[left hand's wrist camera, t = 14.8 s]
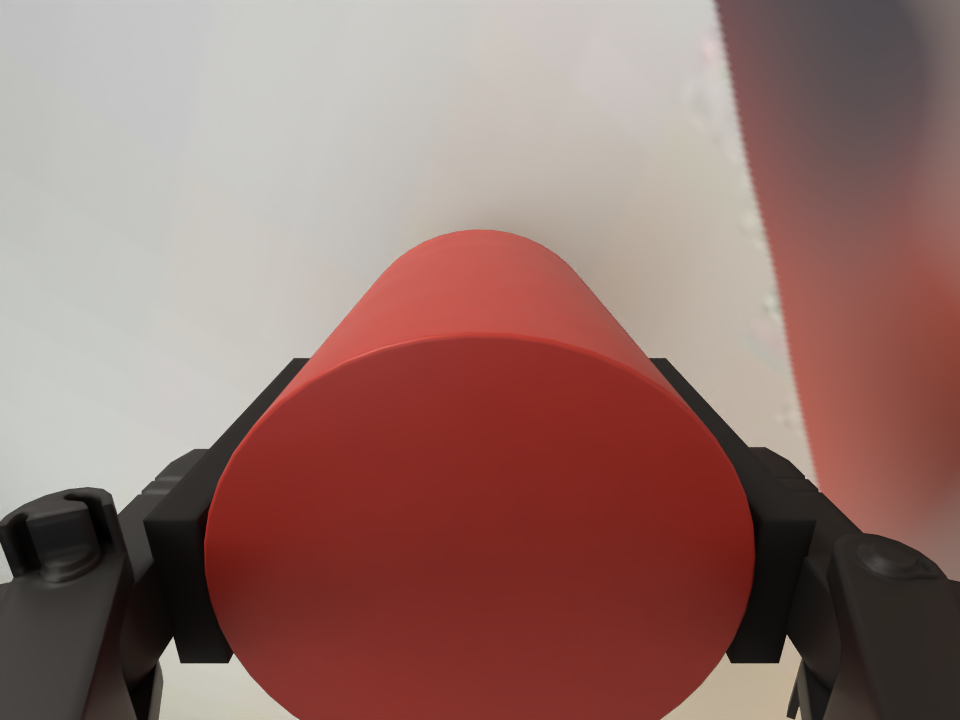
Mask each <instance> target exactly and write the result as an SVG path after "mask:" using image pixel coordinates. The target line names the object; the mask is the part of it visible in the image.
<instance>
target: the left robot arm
mask: <svg viewBox="0 0 960 720" xmlns="http://www.w3.org/2000/svg"><path fill="white" fill-rule="evenodd" d="M310 359H311V358H294V359H293V360H292V361H291V362H290V363H289V364H288V365H287V366H286V367H285V368H284V369H283V371H282V372H281V373H280V374H279V375H278V376H277V377H276V378H275V379H274V380H273V381H272V382H271V383H270V384H269V386H268V387H267V388H266V389H265V390H264V391H263V392H262V393H261V394H260V395H259V396H258V397H257V398H256V399H255V401H254V402H253V403H252V404H251V405H250V406H249V407H248V408H247V409H246V410H245V411H244V412H243V413H242V415H241V416H240V417H239V418H238V419H237V420H236V421H235V422H234V423H233V424H232V425H231V426H230V427H229V428H228V430H227V431H226V432H225V433H224V434H223V435H222V436H221V437H220V438H219V439H218V440H217V441H216V442H215V443H214V445H213V446H212V447H211V448H210V449H194V450H192V451H190V452H189V453H187V454H185V455H183V456H182V457H180V458H178V459H176V460H174V461H173V462H171V463H170V464H169V465H168V466H167V467H166V468H165V469H164V470H163V471H162V472H161V473H160V474H159V475H158V476H157V477H156V478H155V481H152V482H151V483H150V484H149V485H148V486H147V487H146V488H145V489H143V490H142V494H141V495H137V496H136V497H135V498H134V499H133V500H132V501H131V502H130V503H129V504H128V505H127V506H126V507H125V508H124V509H123V510H122V511H121V512H120V513H119V514H118V515H117V512H116V508H115V505H114V501H113V498H112V495H111V494H110V493H108V492H107V491H105V490H104V489H99V488H90V487H85V488H76V489H67V490H64V491H60V492H56V493H52V494H49V495H45V496H43V497H41V498H38V499H36V500H33V501H31V502H29V503H26V504H24V505H22V506H21V507H19V508H18V509H16V510H14V511H13V512H11V513H10V514H8V515H6V516H5V517H4V518H3V519H2V520H1V521H0V543H1V545H2V548H3V551H4V553H5V556H6V558H7V561H8V564H9V566H10V569H11V571H12V574H13V577H14V578H13V580H12V581H11V582H9V583H4V584H0V720H158V719H159V712H160V704H161V696H162V689H163V676H162V670H161V666H160V663H159V658H160V656H161V655H162V653H163V651H164V650H165V648H166V647H167V645H168V644H169V642H170V641H171V639H172V637H173V636H174V640H175V644H176V648H177V651H178V655H179V659H180V663H229V661H230V659H231V657H232V655H233V651H232V649H231V647H230V645H229V643H228V641H227V640H226V638H225V636H224V634H223V632H222V630H221V628H220V626H219V623H218V621H217V618H216V615H215V612H214V609H213V607H212V604H211V601H210V596H209V591H208V586H207V581H206V575H205V555H204V540H205V533H206V526H207V520H208V513H209V509H210V506H211V503H212V499H213V496H214V493H215V490H216V487H217V484H218V481H219V479H220V477H221V475H222V473H223V472H224V470H225V468H226V466H227V464H228V462H229V460H230V458H231V456H232V454H233V452H234V451H235V450H236V448H237V447H238V446H239V444H240V443H241V442H242V440H243V439H244V438H245V436H246V435H247V434H248V432H249V431H250V430H251V428H252V427H253V426H254V424H255V423H256V422H257V421H258V420H259V419H260V417H261V416H262V415H263V414H264V413H265V411H266V410H267V409H268V408H269V407H270V406H271V404H272V403H273V402H274V401H275V400H276V399H277V397H278V396H279V395H280V394H281V393H282V391H283V390H284V389H285V388H286V387H287V386H288V384H289V383H290V382H291V381H292V380H293V379H294V377H295V376H296V375H297V374H298V373H299V371H300V370H301V369H302V368H303V367H304V366H305V364H306V363H307V362H308V361H309V360H310ZM649 359H650V361H651V362H652V363H653V364H654V365H655V367H656V368H657V369H658V370H659V371H660V372H661V374H662V375H663V376H664V377H665V378H666V379H667V381H668V382H669V383H670V384H671V385H672V387H673V388H674V389H675V390H676V391H677V392H678V394H679V395H680V396H681V397H682V398H683V400H684V401H685V402H686V403H687V404H688V405H689V407H690V408H691V409H692V410H693V411H694V413H695V414H696V415H697V416H698V417H699V418H700V420H701V421H702V422H703V423H704V424H705V426H706V427H707V428H708V429H709V430H710V431H711V433H712V434H713V435H714V436H715V437H716V439H717V441H718V442H719V444H720V445H721V447H722V448H723V450H724V451H725V453H726V455H727V456H728V458H729V459H730V461H731V462H732V464H733V466H734V468H735V470H736V473H737V475H738V477H739V479H740V482H741V484H742V486H743V489H744V491H745V493H746V497H747V501H748V505H749V509H750V513H751V517H752V521H753V528H754V542H755V566H754V577H753V586H752V589H751V593H750V597H749V601H748V605H747V608H746V612H745V615H744V617H743V619H742V621H741V624H740V626H739V628H738V631H737V633H736V635H735V638H734V639H733V641H732V643H731V644H730V646H729V648H728V649H727V651H726V654H727V656H728V658H729V660H730V662H731V663H779V661H780V657H781V654H782V650H783V646H784V642H785V639H786V635H788V637H789V638H790V640H791V641H792V643H793V644H794V646H795V648H796V649H797V651H798V652H799V654H800V655H801V657H802V659H801V663H800V666H799V670H798V673H797V677H796V680H795V684H794V687H793V691H792V694H791V698H790V701H789V705H788V711H787V717H789V718H791V719H794V720H795V717H796V714H797V710H798V707H800V710H801V718H802V720H960V582H958V581H953V580H949V579H948V578H947V577H946V575H945V574H944V573H943V572H942V570H941V569H940V568H939V567H938V566H937V564H936V563H934V562H933V561H932V560H930V559H929V558H927V557H926V556H925V555H923V554H922V553H921V552H919V551H917V550H915V549H913V548H911V547H909V546H907V545H905V544H903V543H901V542H899V541H896V540H892V539H889V538H886V537H882V536H879V535H874V534H866V533H863V532H862V531H861V530H860V529H859V528H858V527H857V526H856V525H855V524H853V523H852V522H851V521H850V520H849V519H848V518H847V517H846V516H845V515H844V514H843V513H842V512H841V511H840V510H839V509H838V508H837V507H836V506H835V505H834V504H833V503H832V502H831V501H830V500H829V499H828V498H827V497H826V496H825V495H824V494H823V493H819V492H818V488H817V487H816V486H815V485H814V484H813V483H811V482H810V481H809V480H808V479H805V476H804V475H803V474H802V473H801V472H800V471H799V470H798V469H797V468H796V467H795V466H794V465H793V464H792V463H791V462H790V461H789V460H787V459H785V458H784V457H782V456H780V455H778V454H776V453H775V452H773V451H771V450H769V449H767V448H766V447H748V446H747V445H746V444H745V443H744V442H743V441H742V440H741V439H740V437H739V436H738V435H737V434H736V433H735V432H734V431H733V430H732V429H731V428H730V427H729V426H728V425H727V423H726V422H725V421H724V420H723V419H722V418H721V417H720V416H719V415H718V414H717V413H716V412H715V411H714V410H713V408H712V407H711V406H710V405H709V404H708V403H707V402H706V401H705V400H704V399H703V398H702V397H701V396H700V395H699V393H698V392H697V391H696V390H695V389H694V388H693V387H692V386H691V385H690V384H689V383H688V382H687V381H686V379H685V378H684V377H683V376H682V375H681V374H680V373H679V372H678V371H677V370H676V369H675V368H674V367H673V366H672V364H671V363H670V362H669V361H668V360H667V359H666V358H649Z"/></svg>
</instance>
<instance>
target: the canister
mask: <svg viewBox="0 0 960 720" xmlns="http://www.w3.org/2000/svg"><path fill="white" fill-rule="evenodd" d="M204 555H205V575H206V581H207V586H208V591H209V596H210V601H211V604H212V607H213V609H214V612H215V615H216V618H217V621H218V623H219V626H220V628H221V630H222V632H223V634H224V636H225V638H226V640H227V641H228V643H229V645H230V647H231V649H232V651H233V653H234V654H235V655H236V657H237V658H238V659H239V661H240V662H241V664H242V665H243V666H244V668H245V669H246V670H247V672H248V673H249V674H250V676H251V677H252V678H253V679H254V680H255V681H256V682H257V683H258V684H259V685H260V686H261V687H262V688H263V689H264V690H265V692H266V693H267V694H268V695H269V696H270V697H272V698H273V699H274V700H275V701H276V702H278V703H279V704H280V705H281V706H282V707H284V708H285V709H286V710H287V711H288V712H290V713H291V714H292V715H293V716H295V717H296V718H298V719H300V720H660V719H662V718H663V717H664V716H666V715H667V714H668V713H669V712H671V711H672V710H673V709H675V708H676V707H677V706H679V705H680V704H681V703H682V702H683V701H684V700H685V699H686V698H688V697H689V696H690V695H691V694H692V693H693V692H694V691H695V690H696V689H697V688H698V687H699V686H700V685H701V684H702V683H703V682H704V680H705V679H706V678H707V677H708V676H709V674H710V673H711V672H712V671H713V670H714V668H715V667H716V666H717V665H718V663H719V662H720V660H721V659H722V657H723V656H724V654H725V652H726V651H727V649H728V648H729V646H730V644H731V643H732V641H733V639H734V638H735V635H736V633H737V631H738V628H739V626H740V624H741V621H742V619H743V617H744V615H745V612H746V608H747V605H748V601H749V597H750V593H751V589H752V586H753V577H754V566H755V542H754V528H753V521H752V517H751V513H750V509H749V505H748V501H747V497H746V493H745V491H744V489H743V486H742V484H741V482H740V479H739V477H738V475H737V473H736V470H735V468H734V466H733V464H732V462H731V461H730V459H729V458H728V456H727V455H726V453H725V451H724V450H723V448H722V447H721V445H720V444H719V442H718V441H717V439H716V437H715V436H714V435H713V434H712V433H711V431H710V430H709V429H708V428H707V427H706V426H705V424H704V423H703V422H702V421H701V420H700V418H699V417H698V416H697V415H696V414H695V413H694V411H693V410H692V409H691V408H690V407H689V405H688V404H687V403H686V402H685V401H684V400H683V398H682V397H681V396H680V395H679V394H678V392H677V391H676V390H675V389H674V388H673V387H672V385H671V384H670V383H669V382H668V381H667V379H666V378H665V377H664V376H663V375H662V374H661V372H660V371H659V370H658V369H657V368H656V367H655V365H654V364H653V363H652V362H651V361H650V359H649V358H648V357H647V356H646V355H645V354H644V352H643V351H642V350H641V349H640V348H639V346H638V345H637V344H636V343H635V342H634V341H633V339H632V338H631V337H630V336H629V335H628V333H627V332H626V331H625V330H624V329H623V328H622V326H621V325H620V324H619V323H618V322H617V320H616V319H615V318H614V317H613V316H612V315H611V313H610V312H609V311H608V310H607V309H606V307H605V306H604V305H603V304H602V303H601V302H600V300H599V299H598V298H597V297H596V296H595V294H594V293H593V292H592V291H591V290H590V289H589V287H588V286H587V285H586V284H585V283H584V281H583V280H582V279H581V278H580V277H579V276H578V275H577V273H576V272H575V271H574V270H573V269H572V268H571V267H570V266H569V265H568V264H567V263H566V262H565V261H564V260H562V259H561V258H560V257H559V256H558V255H557V254H555V253H553V252H552V251H550V250H549V249H547V248H546V247H544V246H542V245H540V244H538V243H536V242H534V241H532V240H530V239H527V238H525V237H521V236H518V235H515V234H511V233H507V232H501V231H495V230H467V231H457V232H453V233H449V234H445V235H441V236H438V237H435V238H433V239H430V240H428V241H425V242H423V243H421V244H420V245H418V246H416V247H414V248H412V249H411V250H409V251H408V252H406V253H405V254H404V255H402V256H401V257H400V258H398V259H397V260H396V261H395V262H394V263H393V264H392V265H391V266H390V267H389V268H388V269H387V270H386V271H385V272H384V273H383V274H382V275H381V276H380V277H379V278H378V280H377V281H376V282H375V283H374V284H373V286H372V287H371V288H370V289H369V290H368V291H367V293H366V294H365V295H364V296H363V297H362V298H361V300H360V301H359V302H358V303H357V304H356V306H355V307H354V308H353V309H352V310H351V311H350V313H349V314H348V315H347V316H346V317H345V319H344V320H343V321H342V322H341V323H340V324H339V326H338V327H337V328H336V329H335V330H334V331H333V333H332V334H331V335H330V336H329V337H328V339H327V340H326V341H325V342H324V343H323V344H322V346H321V347H320V348H319V349H318V350H317V351H316V353H315V354H314V355H313V356H312V357H311V359H310V360H309V361H308V362H307V363H306V364H305V366H304V367H303V368H302V369H301V370H300V371H299V373H298V374H297V375H296V376H295V377H294V379H293V380H292V381H291V382H290V383H289V384H288V386H287V387H286V388H285V389H284V390H283V391H282V393H281V394H280V395H279V396H278V397H277V399H276V400H275V401H274V402H273V403H272V404H271V406H270V407H269V408H268V409H267V410H266V411H265V413H264V414H263V415H262V416H261V417H260V419H259V420H258V421H257V422H256V423H255V424H254V426H253V427H252V428H251V430H250V431H249V432H248V434H247V435H246V436H245V438H244V439H243V440H242V442H241V443H240V444H239V446H238V447H237V448H236V450H235V451H234V452H233V454H232V456H231V458H230V460H229V462H228V464H227V466H226V468H225V470H224V472H223V473H222V475H221V477H220V479H219V481H218V484H217V487H216V490H215V493H214V496H213V499H212V503H211V506H210V509H209V513H208V520H207V526H206V533H205V540H204Z"/></svg>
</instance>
